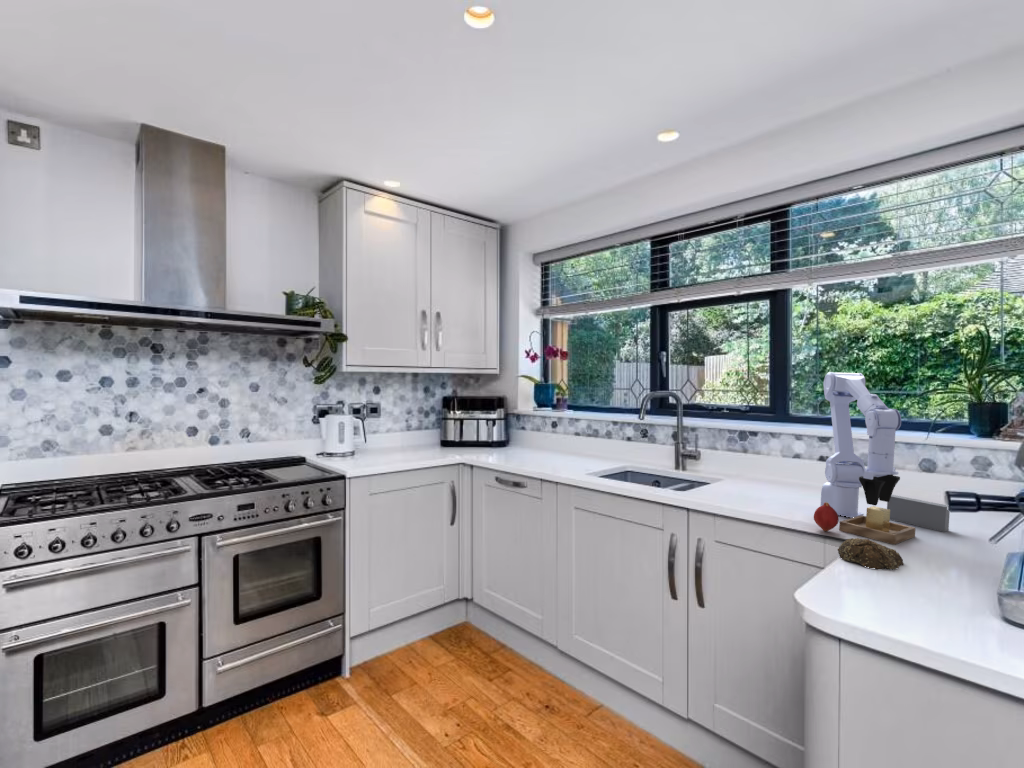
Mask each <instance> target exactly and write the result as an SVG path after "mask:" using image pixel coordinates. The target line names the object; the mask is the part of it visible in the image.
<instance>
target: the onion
mask: <svg viewBox="0 0 1024 768" xmlns="http://www.w3.org/2000/svg"><path fill="white" fill-rule="evenodd" d="M813 520H814V523H816V525H817V526H818V527H819V528H821V531H823V532H828V531H830V530H832V529H835V528H836V526H837V525H838V524H839V522H840V520H839V515H838V514H837V512H836V511H835V510H834V509H833V508H832V507H831V506H830V505H829V503H827V502H825V503H824V505H823V506H821V505H820V506H819V507H817V508H816V509H815V511H814V513H813Z"/></svg>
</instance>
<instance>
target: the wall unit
mask: <svg viewBox="0 0 1024 768" xmlns="http://www.w3.org/2000/svg"><path fill="white" fill-rule="evenodd" d="M886 505H887V506H886V509H889V510H890V519H891V520H890V521H894V520H895V522H900V523H903V524H907V525H912V526H916V527H922V528H924V529H925V528H926V529H931V530H935V531H939V532H941V533H942V532H943V533H945V532H948V531H949V530H950V529H949V528H950V516H951V515H950V513H951V512H949V511H948V510H947V506H946V505H947V504H943V503H942V504H941V503H938V502H933V501H928V500H921V499H916V498H912V497H905V496H901V495H896V494H892V495H891V498H890V501H889V502H886Z"/></svg>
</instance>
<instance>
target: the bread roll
mask: <svg viewBox="0 0 1024 768" xmlns="http://www.w3.org/2000/svg"><path fill="white" fill-rule="evenodd" d="M837 551H838V552H837V553H838V555H839V558H840V559H841V558H842V559H841V560H843V561H845V562H851V563H856V564H859V565H861V566H862V567H864V566H866V567H869V568H868V569H870V568H875V569H874V570H878V569H882V570H884V569H883V568H886V569H885V570H888V569H894V570H896V568H898V569H899V567H900V566H904V559H903V558H902V555H900V553H899V552H897V550H896V549H893V548H889V547H887V546H886V545H882V544H880V543H878V542H875V541H874V540H871V539H870V538H858V537H857V538H856V537H853V538H847V539H845V540H844V541H843V542H842V543H841V544H840V546H838V548H837ZM866 567H865V568H866Z"/></svg>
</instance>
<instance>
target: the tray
mask: <svg viewBox="0 0 1024 768" xmlns="http://www.w3.org/2000/svg"><path fill="white" fill-rule="evenodd" d="M838 526H839V527H838V529H839V531H841V532H845V533H849V534H853V535H856V536H860V537H864V538H866V539H870V540H871V539H872V540H876V541H879V542H883V543H885V544H886V543H887V544H891V545H897V544H900V543H902V542H905V541H908V540H910V539H913V538H915V537H916V527H913V526H909V525H906V524H905V525H904V524H900V523H895V522H891V521H890V522H889V532H884V531H879V530H875V529H871V528H867V527H866V515H861V516H857V517H854V518H846V519H843V520H839V525H838Z"/></svg>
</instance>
